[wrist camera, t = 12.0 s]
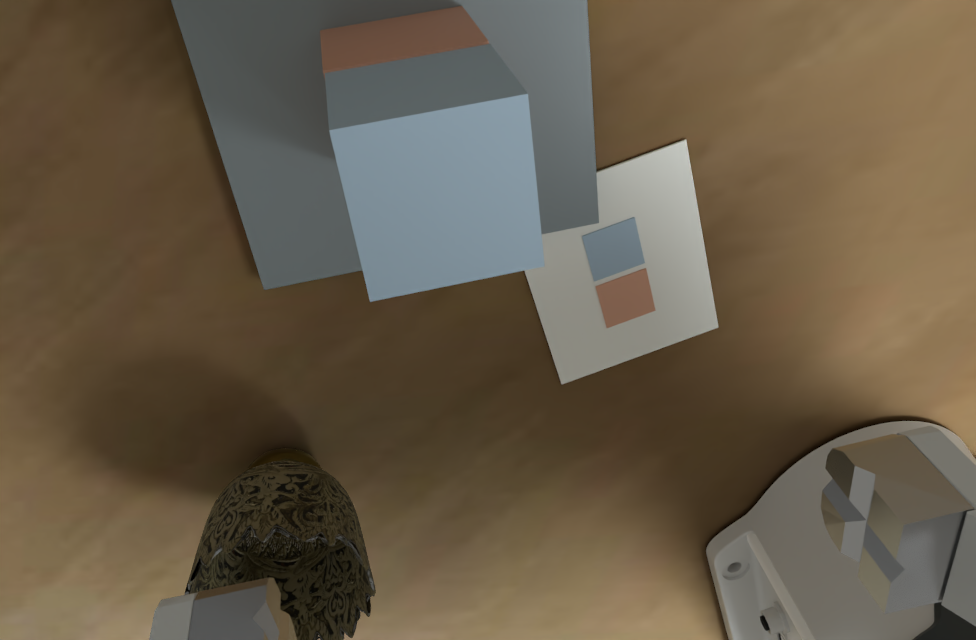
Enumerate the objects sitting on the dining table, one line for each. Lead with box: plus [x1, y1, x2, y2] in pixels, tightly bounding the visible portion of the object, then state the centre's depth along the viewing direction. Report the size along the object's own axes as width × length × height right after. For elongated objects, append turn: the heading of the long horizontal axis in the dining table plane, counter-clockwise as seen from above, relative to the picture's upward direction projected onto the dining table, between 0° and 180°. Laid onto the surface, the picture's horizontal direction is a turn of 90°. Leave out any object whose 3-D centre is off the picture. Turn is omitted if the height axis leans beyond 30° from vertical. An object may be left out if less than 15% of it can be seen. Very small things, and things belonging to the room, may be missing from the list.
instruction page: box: [524, 139, 719, 384], centre depth 37 cm, size 10×8×1 cm
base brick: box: [320, 6, 489, 78], centre depth 28 cm, size 5×5×5 cm
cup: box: [185, 448, 376, 640], centre depth 36 cm, size 8×7×8 cm
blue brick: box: [325, 44, 545, 302], centre depth 24 cm, size 5×5×5 cm
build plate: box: [171, 0, 599, 290], centre depth 30 cm, size 14×14×1 cm
